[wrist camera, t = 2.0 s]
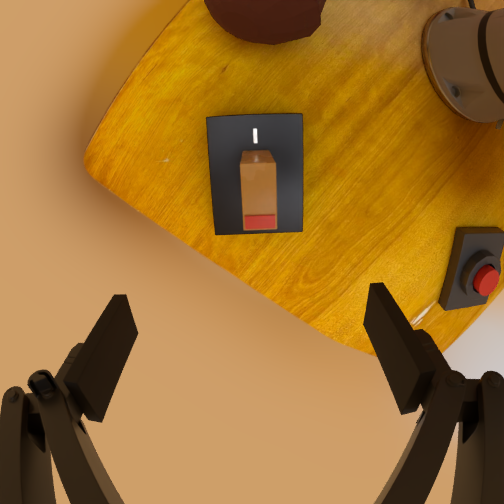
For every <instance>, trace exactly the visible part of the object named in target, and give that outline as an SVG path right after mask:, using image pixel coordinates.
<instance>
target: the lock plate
mask: <svg viewBox="0 0 504 504" xmlns="http://www.w3.org/2000/svg"><path fill="white" fill-rule="evenodd" d="M206 124H207V139H208V154H209V168H210V181H211V194H212V206H213V217H214V228H215V235H233V234H258V233H284V232H302V231H303V114H299V113H282V114H245V115H227V116H213V117H206ZM254 150H269V151H270V153H271V155H272V157H273V159H274V160H275V162H276V183H277V229H270V230H243V212H242V193H241V174H240V162H241V157H242V152H243V151H254Z"/></svg>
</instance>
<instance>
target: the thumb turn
mask: <svg viewBox="0 0 504 504" xmlns="http://www.w3.org/2000/svg"><path fill="white" fill-rule="evenodd" d="M240 174H241V193H242V212H243V230H270V229H277V183H276V162H275V160H274V159H273V157H272V155H271V153H270V151H269V150H254V151H243V152H242V157H241V162H240Z"/></svg>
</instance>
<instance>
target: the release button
mask: <svg viewBox="0 0 504 504" xmlns="http://www.w3.org/2000/svg"><path fill="white" fill-rule="evenodd" d="M498 282H499V273H498V272H497V271H496V270H495V269H494V268H493V267H492V266H490V265H484V266H483V267H481V268H480V269H479V270H478V272H477V273H476V275H475V276H474V280H473V286H474V288H475V289H476V290H477V291H478V292H479V293H480V294H481V295H482V296H487V295H489V294H490V293H492V292H493V291H494V289H495V288H496V286H497V284H498Z"/></svg>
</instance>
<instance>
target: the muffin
mask: <svg viewBox="0 0 504 504" xmlns="http://www.w3.org/2000/svg"><path fill="white" fill-rule="evenodd" d="M204 2H205V4H206V6H207V8H208V9H209V11H210V13H211V15H212V17H213V18H214V20H215V21H216V22H217V23H218V24H219V25H220V26H221V27H222V28H223V29H224V30H225V31H227V32H229V33H230V34H232V35H234V36H235V37H237V38H240V39H243V40H246V41H249V42H253V43H261V44H270V45H275V44H280V43H284V42H288V41H292V40H296V39H300V38H304V37H309V36H311V35H312V34H313V33H314V31H315V30H316V29H317V28H318V27H319V26H320V25H321V17H320V15H321V12H322V10H323V7H324V4H325V2H326V0H204Z"/></svg>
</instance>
